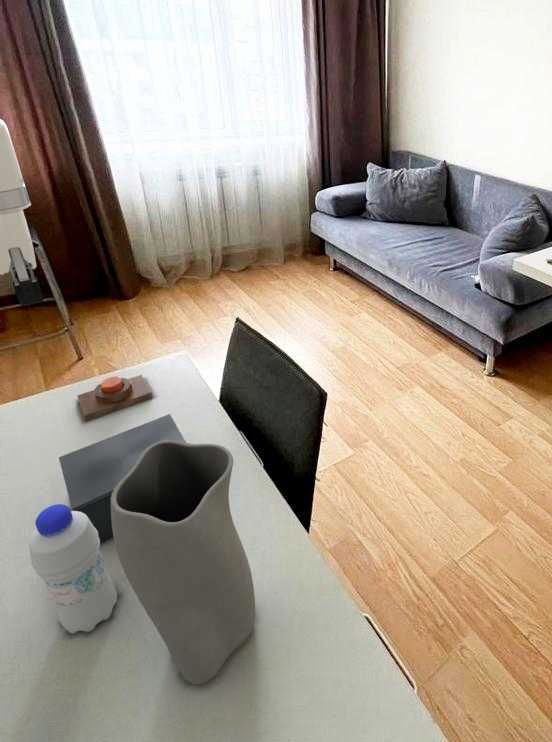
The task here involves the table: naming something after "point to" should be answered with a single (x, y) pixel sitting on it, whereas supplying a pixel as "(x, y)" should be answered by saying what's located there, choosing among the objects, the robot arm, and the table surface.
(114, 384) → the button
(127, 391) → the block
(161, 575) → the vase
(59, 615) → the bottle
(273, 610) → the table surface
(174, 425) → the lid
